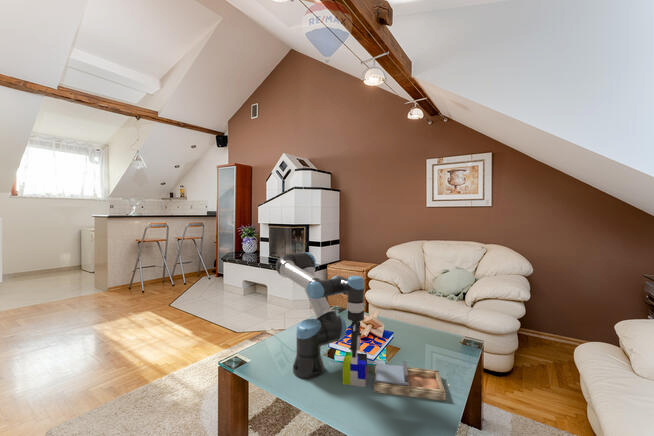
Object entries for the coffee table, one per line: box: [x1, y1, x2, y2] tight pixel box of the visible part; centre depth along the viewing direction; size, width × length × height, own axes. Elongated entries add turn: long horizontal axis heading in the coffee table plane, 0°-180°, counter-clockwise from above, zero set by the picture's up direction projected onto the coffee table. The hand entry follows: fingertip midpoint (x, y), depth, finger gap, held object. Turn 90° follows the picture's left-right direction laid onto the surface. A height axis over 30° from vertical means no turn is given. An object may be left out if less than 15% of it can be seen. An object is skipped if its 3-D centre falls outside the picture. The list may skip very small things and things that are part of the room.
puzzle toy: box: [342, 351, 368, 387], centre depth 138 cm, size 10×10×10 cm
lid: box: [375, 360, 409, 386], centre depth 136 cm, size 14×14×4 cm
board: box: [373, 363, 447, 402], centre depth 135 cm, size 29×18×3 cm, turn 79°
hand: (355, 356), depth 138 cm, fingers open, 13 cm apart
